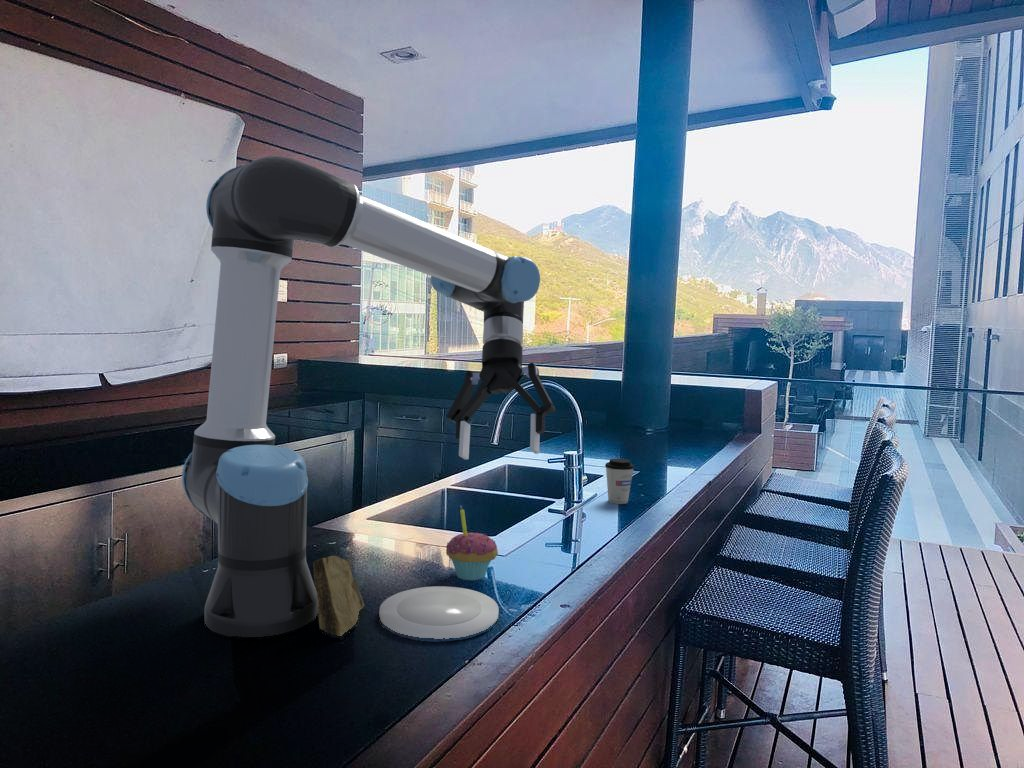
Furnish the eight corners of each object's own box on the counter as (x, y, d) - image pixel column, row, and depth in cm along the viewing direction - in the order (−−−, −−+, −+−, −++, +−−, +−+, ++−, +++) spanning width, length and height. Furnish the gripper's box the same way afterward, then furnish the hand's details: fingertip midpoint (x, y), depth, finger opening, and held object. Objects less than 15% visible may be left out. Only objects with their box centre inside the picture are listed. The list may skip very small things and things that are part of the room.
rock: (343, 583, 110) (288, 593, 102) (372, 546, 108) (318, 552, 100) (378, 644, 105) (322, 659, 97) (409, 605, 102) (355, 618, 94)
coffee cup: (597, 499, 177) (599, 458, 177) (622, 497, 180) (624, 457, 179) (613, 506, 171) (615, 464, 170) (638, 503, 174) (640, 462, 173)
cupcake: (450, 586, 117) (452, 512, 116) (441, 568, 125) (442, 499, 124) (502, 582, 119) (504, 510, 118) (490, 565, 128) (492, 497, 126)
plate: (390, 648, 95) (390, 638, 94) (371, 599, 111) (371, 590, 110) (514, 634, 100) (515, 624, 100) (479, 589, 116) (479, 581, 116)
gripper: (572, 345, 136) (572, 454, 129) (451, 361, 145) (444, 465, 137) (559, 328, 130) (559, 442, 122) (434, 346, 139) (426, 454, 131)
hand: (498, 454), depth 130 cm, fingers open, 13 cm apart
